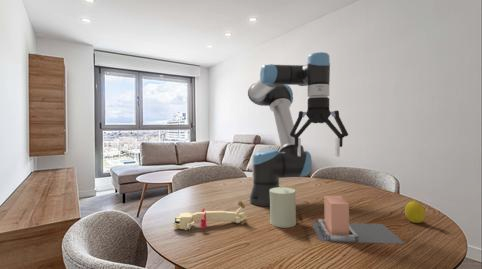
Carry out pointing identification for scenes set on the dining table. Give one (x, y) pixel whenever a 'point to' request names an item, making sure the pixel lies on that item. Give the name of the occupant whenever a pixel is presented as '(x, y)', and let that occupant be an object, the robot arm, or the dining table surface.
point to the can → (282, 207)
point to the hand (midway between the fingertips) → (318, 156)
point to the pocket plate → (358, 233)
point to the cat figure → (209, 217)
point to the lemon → (414, 212)
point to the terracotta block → (336, 215)
